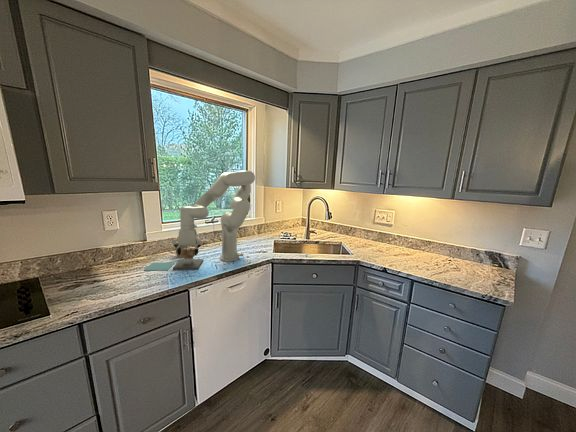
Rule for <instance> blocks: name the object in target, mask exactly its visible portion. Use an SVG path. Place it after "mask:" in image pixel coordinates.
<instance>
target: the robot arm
mask: <svg viewBox="0 0 576 432" xmlns="http://www.w3.org/2000/svg"><path fill="white" fill-rule="evenodd" d="M255 180H256V176H255V174H254V172H253V171H251V170H239V171H234V172H233V171H232V172H231V171H230V172H229V171H226V172H225V171H224V172H223V173H221V174H220V175H219V176H218V178H217V179H216V180H215V182H214V183H213V184H212V185H211V186H210V188H209V189H208V190H207V191H206V192H204V194H203V193H202V195H201V196H200V197H199V198H198V199H197V200H196V202H195V203H194V204H193V205H192V206H191V205H184V206H181V207H180V208H179V210H180V211H179V214H180V215H179V216H180V218H179V219H180V220H179V221H180V228H179V229H178V235H177V236H178V238H176V239H174V240H172V241H171V242H172V245H173V244H174V245H173V247H174V246H175V247H176V248H177V254H178V255H180V254H181V247H180V246H188V247H193V248H195V256H197V255H198V254H199V248H201V246H202V244H203V243H204V241H203V240H201V239H199V238H198V232H197V229H196V228H197V227H198V225H196V223H195V219H197V220H198V219H200V220H201V219H202V220H203V219H206V218H207V217H208V216H209V213H210V212H209V209H208V207H209V206H210V205H211V204H212V203H214V202H215V201H218V200H220V199H221V198H222V197H223V196H224V194H225V193H227V192H226V191H228V189H230V187H237V190H236V192H235V194H234V196H233V198H232V199H231V202H230V204H229V206H230V209H231V210H232V211H225V212H223V213H222V215H221V217H220V224H221V226H220V227H221V255H220V256H219V260H220V261H222V262H228V263H229V262H236V261H238V260H239V259H240V257H244V253H243V252H238V251H239V250H238V248H237V247H238V243H237V242H238V231H237V230H238V229H239V228H240V227H241V226H243V224H244V222H245V220H246V218H247V216H248V214H249V212H250V209H251V204H250V202H249V200H248V199H249V197H250V194H251V192H252V189H251V188H252V187H251V184H254V182H255ZM176 243H178V245H177V244H176ZM198 243H199V244H198ZM175 247H174V248H175ZM195 256H194V257H195Z"/></svg>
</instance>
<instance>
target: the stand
mask: <svg viewBox="0 0 576 432" xmlns="http://www.w3.org/2000/svg"><path fill="white" fill-rule="evenodd" d="M190 248H191V247H188V248H187V251H190ZM203 263H204V259H203V258H198V259H197V258H194V257H193V258H180V259H179V260H178V261H177V262H176V263H175V264H174V266H172V271H198V270H199V269H200V267H201V266H202V264H203Z"/></svg>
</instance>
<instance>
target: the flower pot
mask: <svg viewBox="0 0 576 432" xmlns="http://www.w3.org/2000/svg"><path fill="white" fill-rule="evenodd" d="M176 244H177V245H178V242H176ZM172 245H173V247H174V249H175V254H176V258H181V254H180V255H178V254H177V248H176V247H175V246H174V244H173V243H172ZM180 247H181V251H182V250H183V249H184V248H189V246H180Z"/></svg>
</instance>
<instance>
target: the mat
mask: <svg viewBox="0 0 576 432" xmlns="http://www.w3.org/2000/svg"><path fill="white" fill-rule="evenodd" d="M175 264H176V263H175V262H174V261H173V262H172V261H171V262H164V261H163V262H161V261H160V262H159V261H158V262H151V263H150V264H149V265H148V266H147V267H146V268H145V269H143V272H156V271H157V272H163V271H164V272H165V271H167V272H168V271H169V270H170V269H171V268H173V267H174V266H173V265H175Z"/></svg>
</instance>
